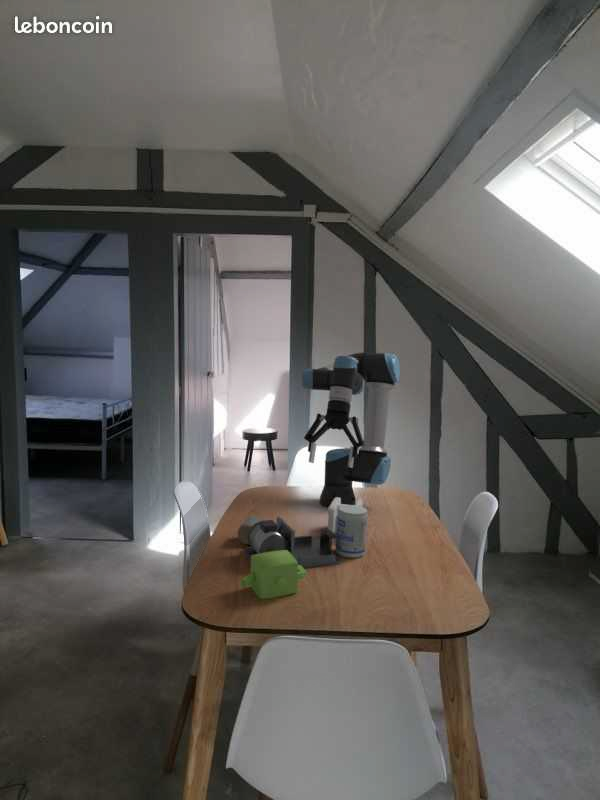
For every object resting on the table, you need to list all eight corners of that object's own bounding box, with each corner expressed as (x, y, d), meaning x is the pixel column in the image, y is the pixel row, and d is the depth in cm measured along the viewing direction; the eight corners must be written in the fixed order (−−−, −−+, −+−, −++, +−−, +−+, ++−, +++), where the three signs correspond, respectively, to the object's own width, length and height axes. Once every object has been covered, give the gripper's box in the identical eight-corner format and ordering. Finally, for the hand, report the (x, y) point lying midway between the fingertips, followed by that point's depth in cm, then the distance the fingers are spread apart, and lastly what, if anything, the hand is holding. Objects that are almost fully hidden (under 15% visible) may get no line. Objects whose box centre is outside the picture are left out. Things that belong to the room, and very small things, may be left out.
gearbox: (245, 607, 141) (246, 572, 139) (234, 589, 150) (234, 556, 148) (309, 595, 148) (310, 562, 147) (295, 578, 157) (296, 547, 155)
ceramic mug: (235, 544, 182) (236, 522, 181) (244, 536, 190) (244, 514, 189) (266, 549, 180) (267, 526, 179) (273, 540, 188) (274, 518, 187)
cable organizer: (356, 542, 188) (357, 509, 186) (325, 539, 190) (327, 506, 189) (362, 528, 202) (363, 497, 201) (333, 525, 205) (334, 495, 203)
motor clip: (320, 542, 186) (321, 508, 185) (343, 563, 170) (344, 526, 168) (242, 551, 177) (243, 515, 175) (258, 573, 160) (259, 534, 159)
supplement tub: (331, 555, 176) (333, 510, 174) (340, 545, 184) (342, 502, 183) (361, 560, 172) (363, 515, 171) (368, 550, 181) (370, 506, 179)
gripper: (301, 396, 185) (291, 458, 181) (372, 401, 175) (363, 467, 171) (309, 401, 192) (299, 462, 188) (378, 406, 182) (370, 470, 178)
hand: (330, 464), depth 179 cm, fingers open, 13 cm apart
